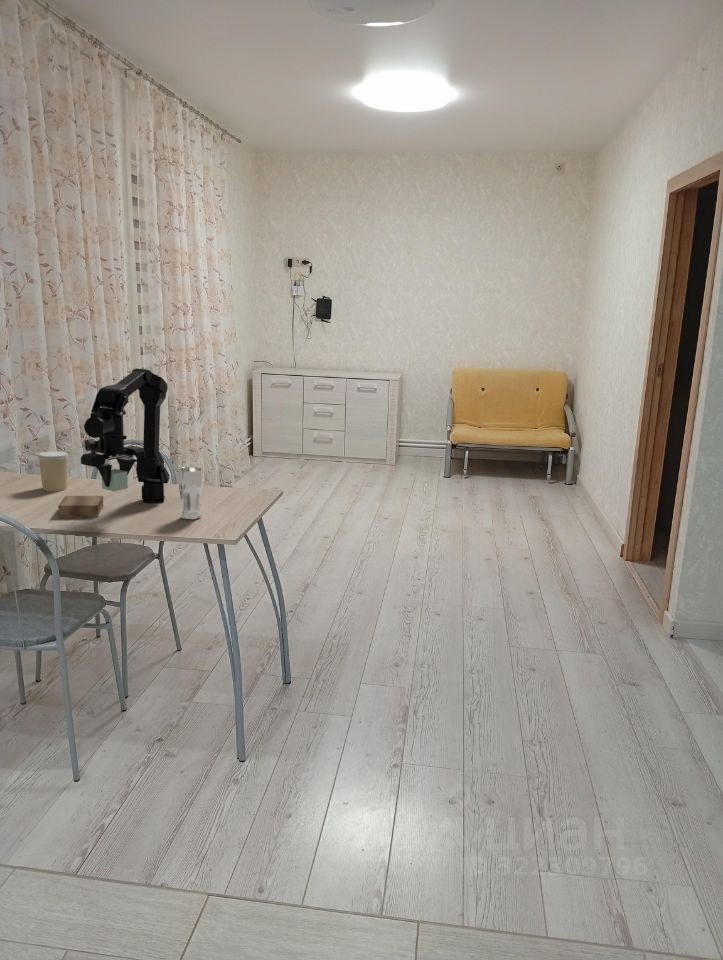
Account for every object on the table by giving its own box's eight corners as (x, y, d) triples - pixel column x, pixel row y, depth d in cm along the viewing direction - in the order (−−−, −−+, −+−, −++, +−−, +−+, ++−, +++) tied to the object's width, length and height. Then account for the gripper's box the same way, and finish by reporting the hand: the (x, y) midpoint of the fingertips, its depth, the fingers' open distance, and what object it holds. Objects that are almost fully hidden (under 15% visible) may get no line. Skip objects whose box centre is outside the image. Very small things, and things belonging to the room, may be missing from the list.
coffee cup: (73, 485, 258) (72, 451, 255) (64, 492, 248) (63, 457, 246) (46, 484, 257) (44, 450, 254) (35, 491, 248) (33, 456, 245)
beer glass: (202, 520, 225) (202, 471, 222) (178, 520, 224) (177, 471, 220) (203, 514, 232) (203, 466, 228) (180, 514, 231) (179, 466, 227)
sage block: (116, 485, 222) (115, 468, 221) (127, 488, 219) (127, 471, 218) (102, 488, 218) (101, 471, 217) (113, 491, 215) (113, 474, 214)
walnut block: (103, 508, 235) (102, 495, 234) (98, 518, 224) (97, 505, 223) (66, 508, 233) (65, 495, 232) (59, 518, 222) (58, 505, 221)
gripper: (120, 424, 227) (122, 474, 230) (66, 432, 211) (69, 486, 215) (145, 429, 221) (147, 481, 225) (92, 437, 206) (95, 492, 209)
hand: (114, 484), depth 218 cm, fingers closed on sage block, 5 cm apart
